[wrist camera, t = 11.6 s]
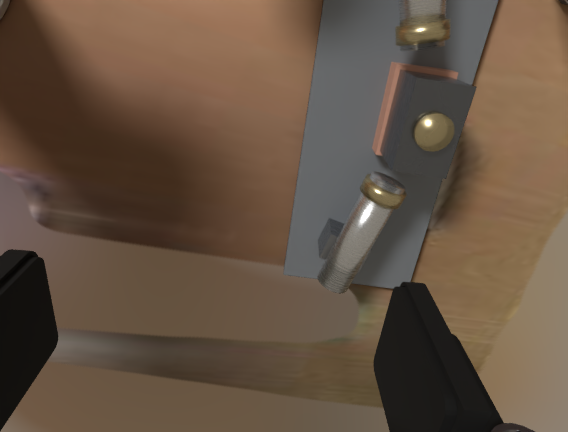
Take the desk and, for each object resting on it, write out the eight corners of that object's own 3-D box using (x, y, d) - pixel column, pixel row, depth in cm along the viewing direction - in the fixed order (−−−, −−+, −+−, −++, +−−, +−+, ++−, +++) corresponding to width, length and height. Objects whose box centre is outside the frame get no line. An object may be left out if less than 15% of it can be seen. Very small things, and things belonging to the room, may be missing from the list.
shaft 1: (358, 153, 37) (369, 179, 31) (397, 169, 38) (416, 198, 32) (311, 247, 42) (312, 286, 36) (346, 260, 42) (354, 301, 36)
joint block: (379, 150, 34) (393, 173, 29) (400, 69, 31) (419, 79, 26) (426, 157, 34) (448, 181, 29) (451, 77, 31) (480, 88, 26)
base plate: (283, 269, 43) (282, 286, 40) (349, -178, 27) (355, -200, 25) (405, 284, 43) (412, 302, 41) (539, -150, 28) (564, -169, 25)
